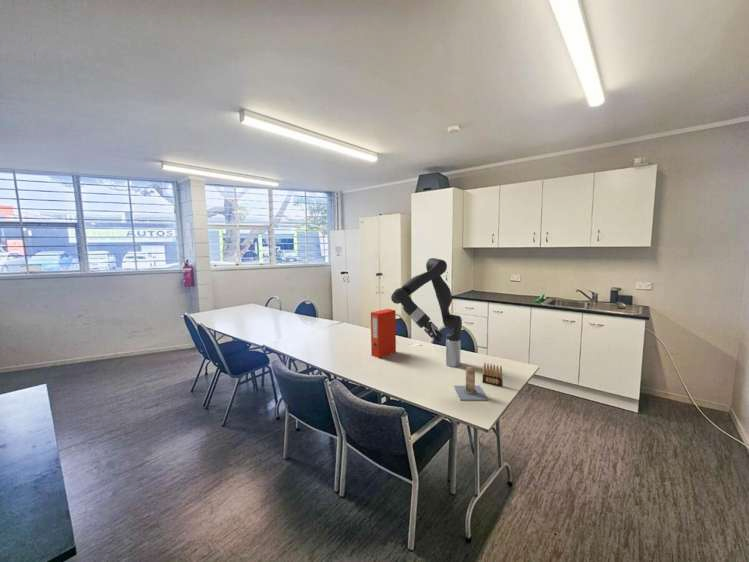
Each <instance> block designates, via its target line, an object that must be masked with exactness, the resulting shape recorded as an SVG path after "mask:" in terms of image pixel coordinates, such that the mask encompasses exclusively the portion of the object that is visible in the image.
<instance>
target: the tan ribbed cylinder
mask: <svg viewBox="0 0 749 562" xmlns="http://www.w3.org/2000/svg"><path fill="white" fill-rule="evenodd" d="M465 386H466V389H464V392H465V393H466V394H469V395H474V394H476V390H475V386H476V369H475V368H474V367H471V366H467V367H466V368H465Z"/></svg>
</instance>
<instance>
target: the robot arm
mask: <svg viewBox="0 0 749 562" xmlns="http://www.w3.org/2000/svg"><path fill="white" fill-rule="evenodd" d="M447 267H448V264H447V262H446V261H445V260H444V259H439V258H436V257H435V258H434V257H431V258H428V259H427V261H426V264H425V268H426V271H425V272H423V273H421V274H418V275H416V276H413V277H412V278H410V279H409V280H408V281H407V282H405V283H404V284H403V285H401V287H398V288H396V289H395V290H394V291H393V293H392V294H391V297H390V298H391V302H392V303H393V304H397V305H399V304H400V305H402V309H403V312H405V313H406V314H407V315H408V316H409V317H410V318H411V320H412V322H414V323H415V324H416V325H417V326H418V327H419V329H422V328H424V329H423V331H424V332H425V333H426V334H427V335H428V336H429V338H431V339H434V341H436V342H437V343H440V342H442V339H441V338H443V337H444V335H443V333H442V332H440V330H439V328H438V326H436V324H435V323H433V321H431V317H429V315H428V314H426V313H425V311H424V310H422V309H421V308H420V307H419V306H418V305H417V304H416V303H415V302H414V301H413V300H412V298H411V296H410V295H412V294H413V293H415V292H416V291H417V290H419V289H420V288H422V287H424V285H425V284H427V283H429V282H431V284H432V286H433V290H434V292H435V293H434V294H435V297H436V299H437V302H438V305H439V309H440V314H441V317H442V323H443V325H444V327H445V328H446V329H450V330H452V332H448V333H447V334H446V335H445V365H446V364H447V365H446V366H447V367H451V366H453V368H457V367H456V366H458V367H461V336H462V327H463V321H462V317H461V316H460V315H456V314H451V313H450V306H451V304H452V302H453V294H452V291H451V288H450V286H449V285H448V284H447V283H446V282H445V280H444V279H443V278H442V275H443V274H444V273H445V272H446V271H447V269H448V268H447Z"/></svg>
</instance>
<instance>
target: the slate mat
mask: <svg viewBox="0 0 749 562" xmlns="http://www.w3.org/2000/svg"><path fill="white" fill-rule="evenodd" d="M454 387H455V388H454ZM453 388H454V389H455V392H456V393H457V397H458V398H460V399H459V400H460V402H461V401H462V400H463V401H464V400H472V401H475V400H477V401H478V400H481V401H488V402H489V398H488V397H487V394H486V393H485V392H484V390H483V389H482V387H481V385H475V390H476V394H474V395H469V394H466V393H465V392H464V389H466V385H453ZM472 401H471V402H472ZM477 401H476V402H477ZM464 402H465V401H464Z"/></svg>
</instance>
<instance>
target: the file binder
mask: <svg viewBox="0 0 749 562" xmlns="http://www.w3.org/2000/svg"><path fill="white" fill-rule="evenodd" d="M396 318H397V317H396V310H395V309H392V308H386V309H385V308H384V309H382V310H376V311H372V312H370V342H371V343H370V345H371V346H370V347H371V348H370V349H371V351H370V353H371V356H372V357H374V356H375V358H376V357H378V358H377V359H380V357H381V358H383V356H384V357H386V356H385V355H387V356H390V355H392V354H391V353H393V354H395V353H394V352H397V337H396V336H397V332H396V331H397V330H396V327H397V326H396V323H397V322H396V321H397V319H396ZM389 354H390V355H389Z"/></svg>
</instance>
